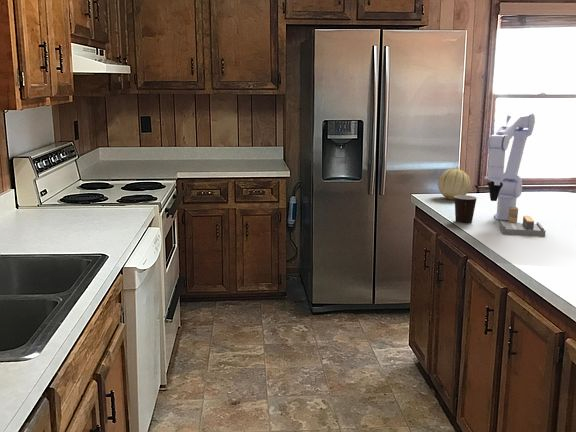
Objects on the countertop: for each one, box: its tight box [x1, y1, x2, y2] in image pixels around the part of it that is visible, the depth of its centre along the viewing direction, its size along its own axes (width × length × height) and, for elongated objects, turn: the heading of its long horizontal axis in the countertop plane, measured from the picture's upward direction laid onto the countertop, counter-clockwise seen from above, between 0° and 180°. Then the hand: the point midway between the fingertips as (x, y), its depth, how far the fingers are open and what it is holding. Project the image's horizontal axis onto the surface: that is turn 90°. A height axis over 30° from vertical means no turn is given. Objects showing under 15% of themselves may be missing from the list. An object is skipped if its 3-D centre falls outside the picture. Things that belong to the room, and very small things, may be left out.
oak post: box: [507, 206, 519, 223], centre depth 251 cm, size 3×3×7 cm
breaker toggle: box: [522, 215, 535, 229], centre depth 241 cm, size 9×2×3 cm, turn 169°
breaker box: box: [498, 220, 547, 237], centre depth 242 cm, size 11×15×3 cm
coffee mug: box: [453, 194, 478, 224], centre depth 255 cm, size 12×9×10 cm
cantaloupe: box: [437, 166, 471, 200], centre depth 302 cm, size 15×15×15 cm
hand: (493, 200), depth 249 cm, fingers closed
